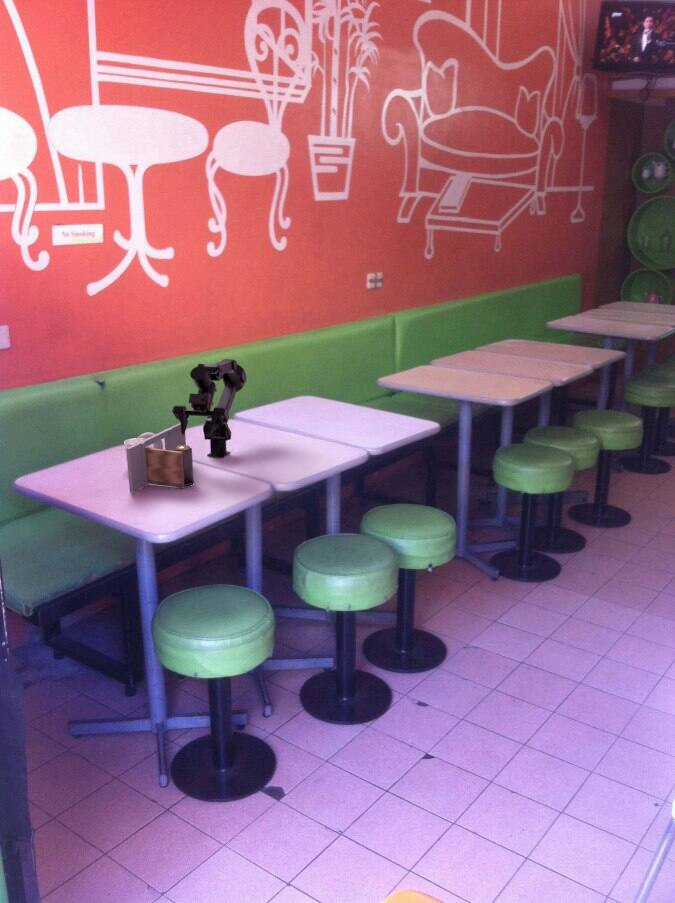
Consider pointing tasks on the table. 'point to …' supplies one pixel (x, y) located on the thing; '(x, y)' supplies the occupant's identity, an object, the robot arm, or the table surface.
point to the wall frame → (138, 455)
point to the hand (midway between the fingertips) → (195, 435)
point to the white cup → (131, 442)
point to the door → (165, 467)
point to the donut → (156, 445)
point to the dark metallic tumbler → (187, 464)
